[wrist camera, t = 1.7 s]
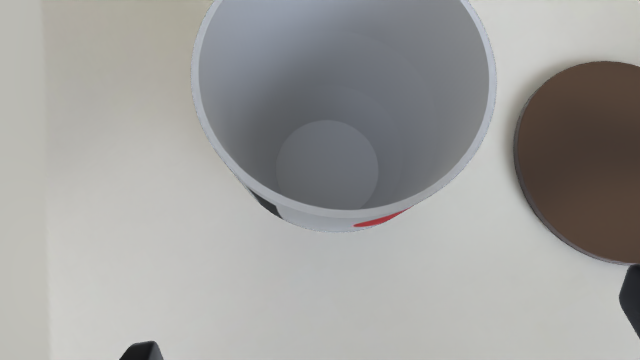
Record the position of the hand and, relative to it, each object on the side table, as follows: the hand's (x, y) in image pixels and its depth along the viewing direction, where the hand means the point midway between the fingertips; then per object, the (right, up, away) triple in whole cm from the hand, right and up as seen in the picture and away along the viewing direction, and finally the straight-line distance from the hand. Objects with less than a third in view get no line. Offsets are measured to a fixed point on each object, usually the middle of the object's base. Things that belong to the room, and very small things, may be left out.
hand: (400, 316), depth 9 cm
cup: (-1, +3, +14) cm, 14 cm away
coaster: (+13, +3, +14) cm, 19 cm away
